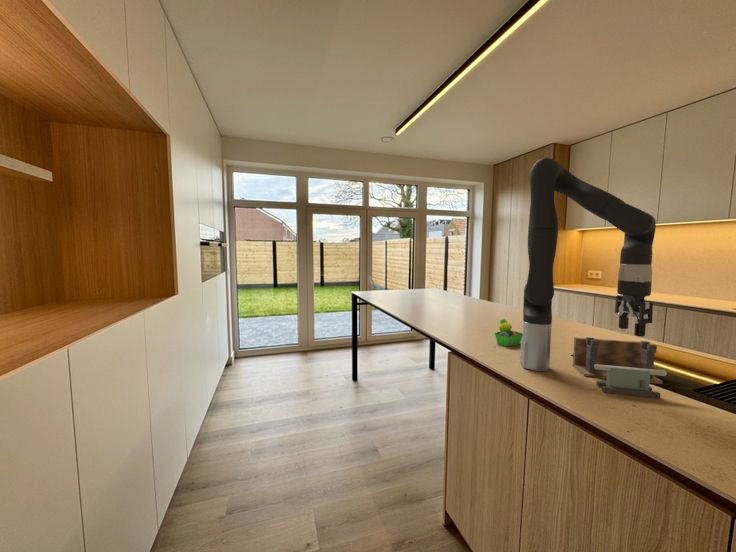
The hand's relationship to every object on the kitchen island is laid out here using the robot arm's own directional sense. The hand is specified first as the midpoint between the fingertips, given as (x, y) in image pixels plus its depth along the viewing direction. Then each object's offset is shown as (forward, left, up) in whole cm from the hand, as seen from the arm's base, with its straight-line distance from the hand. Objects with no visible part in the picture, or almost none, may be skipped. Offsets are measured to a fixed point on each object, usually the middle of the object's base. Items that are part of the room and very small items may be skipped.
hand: (631, 332), depth 89 cm
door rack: (0, 0, -19) cm, 19 cm away
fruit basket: (-27, +42, -19) cm, 53 cm away
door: (0, 0, -19) cm, 19 cm away
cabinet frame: (+3, +14, -19) cm, 24 cm away
